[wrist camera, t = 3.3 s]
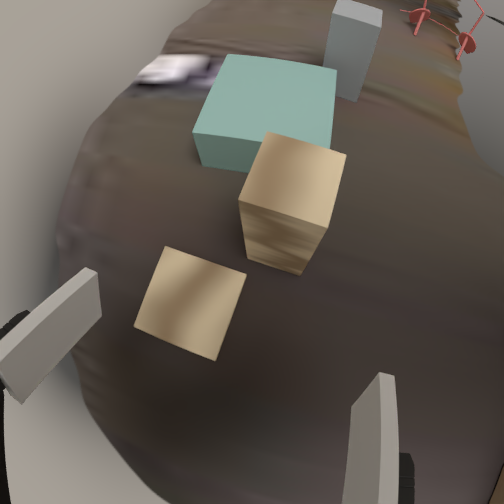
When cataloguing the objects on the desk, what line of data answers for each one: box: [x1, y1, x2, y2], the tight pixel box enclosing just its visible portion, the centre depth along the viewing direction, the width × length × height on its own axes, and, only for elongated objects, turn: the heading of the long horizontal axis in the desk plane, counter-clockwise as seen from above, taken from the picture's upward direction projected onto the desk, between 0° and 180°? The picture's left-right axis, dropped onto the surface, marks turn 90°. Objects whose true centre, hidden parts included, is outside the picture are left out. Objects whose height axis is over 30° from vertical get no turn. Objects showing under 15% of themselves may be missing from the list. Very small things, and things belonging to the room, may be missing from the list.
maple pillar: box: [238, 131, 346, 276], centre depth 23 cm, size 5×5×12 cm
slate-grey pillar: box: [323, 0, 382, 103], centre depth 28 cm, size 5×5×12 cm
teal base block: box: [192, 54, 337, 173], centre depth 29 cm, size 12×12×6 cm
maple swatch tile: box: [134, 246, 247, 361], centre depth 27 cm, size 8×8×1 cm
